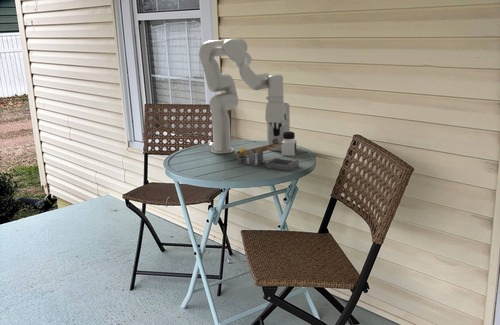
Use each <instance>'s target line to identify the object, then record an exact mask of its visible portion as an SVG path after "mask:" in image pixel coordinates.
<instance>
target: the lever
mask: <svg viewBox="0 0 500 325" xmlns="http://www.w3.org/2000/svg"><path fill="white" fill-rule="evenodd" d="M272 142H273V144H270V145H263V146H262V145H261V146H260V147H254V148H251V149H246V152H242V153H240V152H239V150H238V151H236V158H237V159H238V157H243V156H246V157H248V156H249V151H255V154H257V153H259V152H263V153H264V152H266V151H271V150H270V149H273V148H275V147H277V146H279V145H281V144H282V143H279V142H278V138H274V139H272Z"/></svg>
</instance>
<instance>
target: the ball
mask: <svg viewBox="0 0 500 325" xmlns="http://www.w3.org/2000/svg"><path fill="white" fill-rule="evenodd" d="M246 150H247V149H246V148H245V147H242V146H241V147H240V148H239V150H238V151H239V152H240V153H242V152H246Z"/></svg>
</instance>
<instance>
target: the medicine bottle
mask: <svg viewBox="0 0 500 325" xmlns="http://www.w3.org/2000/svg"><path fill="white" fill-rule="evenodd" d="M295 138H296V137H295V132H294V131H291V130H290V131H287V132H284V133H283V141H282V144H281V150H282V151H281V156H289V157H291V156H292V157H293V156H296V154H297V139H295Z"/></svg>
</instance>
